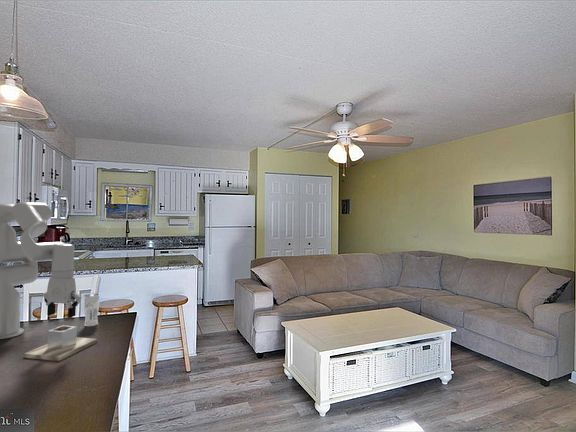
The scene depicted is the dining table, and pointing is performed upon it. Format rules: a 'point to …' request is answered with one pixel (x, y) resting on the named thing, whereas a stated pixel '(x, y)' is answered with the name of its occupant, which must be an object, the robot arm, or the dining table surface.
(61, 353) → the board
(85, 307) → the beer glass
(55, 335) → the white open box
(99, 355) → the dining table surface
